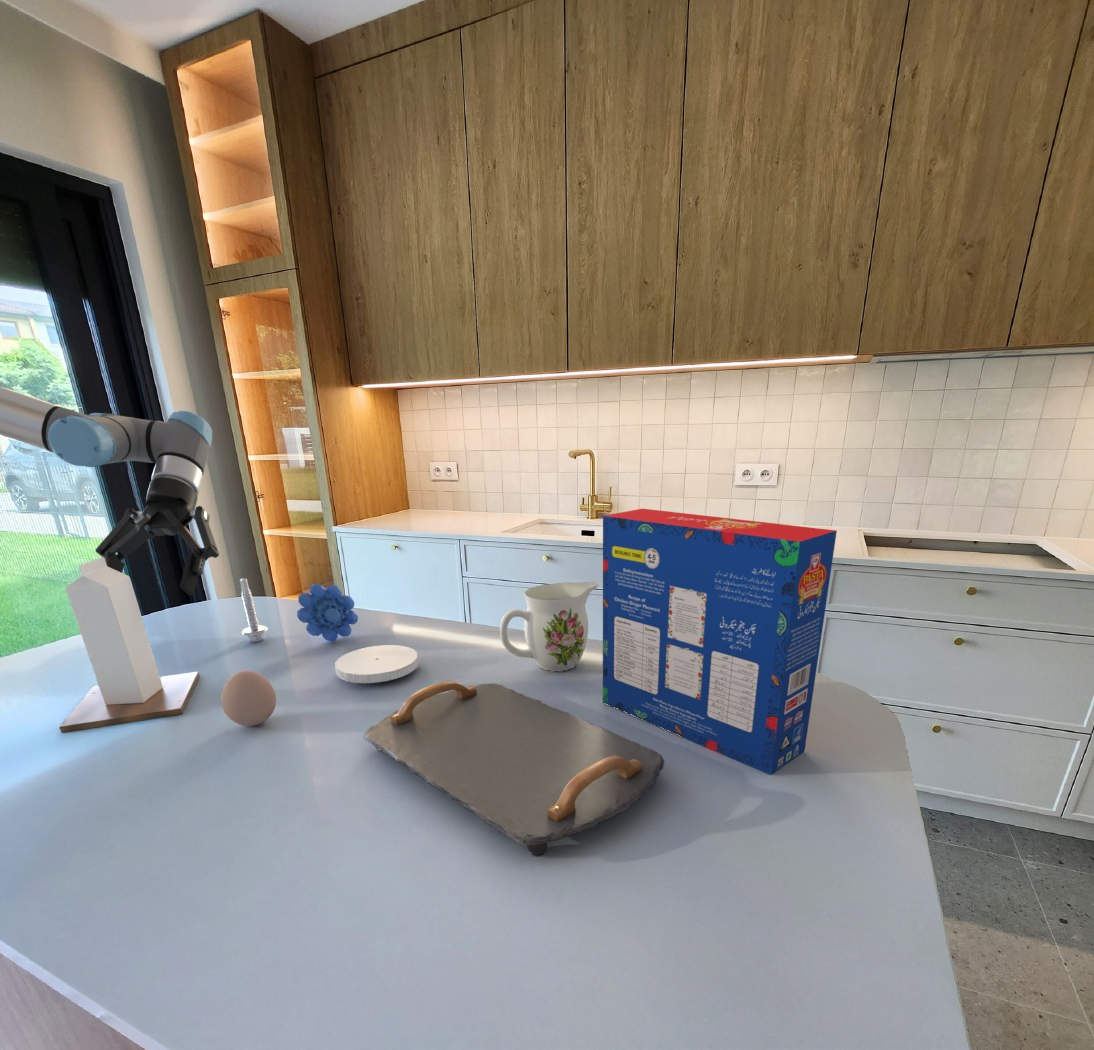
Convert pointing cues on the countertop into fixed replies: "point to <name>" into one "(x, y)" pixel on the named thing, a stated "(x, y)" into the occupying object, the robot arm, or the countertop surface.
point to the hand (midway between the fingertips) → (146, 592)
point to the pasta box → (715, 628)
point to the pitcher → (552, 624)
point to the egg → (248, 698)
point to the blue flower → (327, 612)
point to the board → (132, 705)
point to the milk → (114, 634)
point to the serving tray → (516, 760)
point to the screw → (251, 615)
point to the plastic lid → (376, 664)
